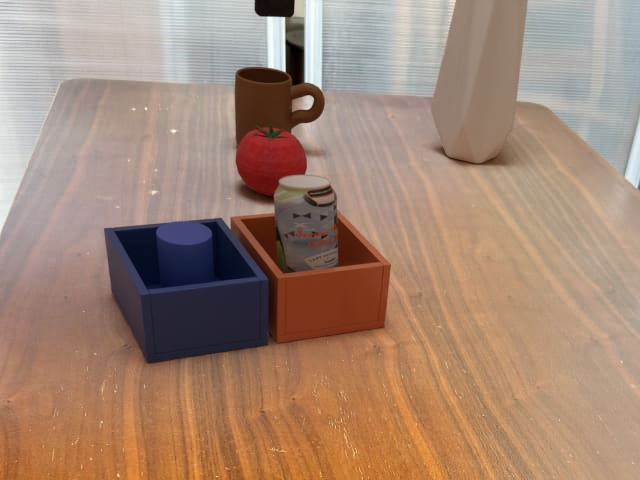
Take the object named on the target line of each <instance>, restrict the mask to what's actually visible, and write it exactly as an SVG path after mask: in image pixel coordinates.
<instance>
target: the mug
mask: <svg viewBox="0 0 640 480" xmlns="http://www.w3.org/2000/svg"><path fill="white" fill-rule="evenodd" d="M234 80H235V81H234V117H235V118H234V120H235V121H234V123H235V143H236V147H238V146H239V144H240V142H241V140H242V139H243V138H244V136H245V135H246V134H247V133H249V132H250V131H253V130H256V129H260V128H258V127H257V126H259V127H261V128H269V126H270V125H272V127H273V128H278V129H281V130H282V129H285V130H284V131H286V132H289V133H291V134H292V129H294V128H295V127H297V126H299V125H301V124H310V123H314V122H315V121H317V120H318V119H319V118H320V117H321V115H322V114H323V113H324V110H325V105H326V101H325V95H324V92H323V91H322V89H321V88H320V87H319V86H317V85H315V84H314V83H311V82H302V83H299V84H296V85H293V78H292V76H291V74H289V73H288V72H286V71H284V70H282V69H281V70H280V69H276V68H272V67H265V66H248V67H242V68H239V69H238V70H236V72H235V75H234ZM307 96H310V97H312V98H313V102H312V105H311V107H310V108H307V109H297V110H293V101H294V100H297V99H300V98H303V97H307ZM255 125H256V126H255Z"/></svg>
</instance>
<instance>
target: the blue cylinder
mask: <svg viewBox="0 0 640 480" xmlns="http://www.w3.org/2000/svg"><path fill="white" fill-rule="evenodd" d="M189 221H190V220H178V221H176V220H175V221H169V222H170V223H168V222H165V223H166V224H163V225H161V226H160V227H159V228H158V229H157V231H156V237H157V249H158V260H159V272H160V284H161V288H167V287H175V286H184V285H192V284H200V283H209V282H214V268H213V243H212V232H211V230H210V229H209V228H208V227H206V226H204V225H202V224H199V223H195V222H189Z"/></svg>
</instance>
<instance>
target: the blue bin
mask: <svg viewBox="0 0 640 480" xmlns="http://www.w3.org/2000/svg"><path fill="white" fill-rule="evenodd" d="M188 221H189V222H195V223H199V224H202V225H204V226H206V227H208V228H209V229H210V230H211V232H212V243H213V268H214V282H209V283H200V284H192V285H184V286H175V287H167V288H161V284H160V272H159V260H158V249H157V237H156V231H157V229H158V228H159V227H160V226H161V225H163V224H166V223H170V222H171V221H169V222H158V223H148V224H146V223H145V224H137V225H136V224H135V225H126V226H125V225H124V226H114V227H103V233H104V242H105V250H106V259H107V266H108V272H109V281H110V290H111V295H112V296H113V299H114V300H115V303H116V304H117V306H118V308H119V310H120V312H121V314H122V317H123V318H124V320H125V322H126V324H127V325H128V328H129V329H130V332H131V334H132V335H133V338H134V339H135V341H136V343H137V345H138V347H139V350H140V351H141V354H142V355H143V357H144V360H145V361H146V363H147V364H151V363H157V362H164V361H169V360H176V359H183V358H190V357H196V356H203V355H210V354H216V353H223V352H229V351H235V350H236V351H237V350H243V349H248V348H255V347H261V346H268V345H269V331H268V278H267V277H266V276H265V274H264V273H263V272H262V270H261V269H260V268H259V266H258V265H257V264H256V262H255V261H254V260H253V258H252V257H251V256H250V255H249V253H248V252H247V251H246V249H245V248H244V247H243V245H242V244H241V243H240V241H239V240H238V239H237V237H236V236H235V235H234V234H233V232H232V231H231V227H230V226H229V225H228V224H227V223H226V222H225V220H224V219H223V217H215V218H203V219H193V220H188Z"/></svg>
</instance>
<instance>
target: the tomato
mask: <svg viewBox="0 0 640 480" xmlns="http://www.w3.org/2000/svg"><path fill="white" fill-rule="evenodd" d="M255 126H256V125H255ZM257 127H258V128H260V129H256V130H253V131H250V132H249V133H247V134H246V135H245V136H244V138H243V139H242V140H241V142H240V144H239V146H237V149H236V152H235V165H236V166H235V167H236V170H237V173H238V176H239V177H240V178H241V180H242V181H243V183H244V184H245V185H246V186H247V187H249V188H250V189H251V190H252V191H254V192H256V193H258V194H260V195H264V196H270V197H274V193H275V191H276V190H277V188H278V186H279V180H280V179H281V178H283V177H287V176H292V175H306V173H307V169H308V159H307V154H306V151H305V149H304V147H303V145H302V143H301V142H300V140H299V139H298V138H297V136H296V135H294V134H293V133H292V132H291V133H289V132H286V131H284V130H285V129H282V130H281V129H278V128H273V127H272V125H270V126H269V128H261V127H259V126H257Z"/></svg>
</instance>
